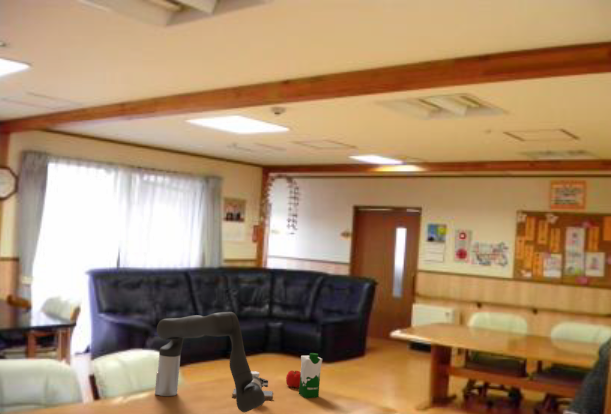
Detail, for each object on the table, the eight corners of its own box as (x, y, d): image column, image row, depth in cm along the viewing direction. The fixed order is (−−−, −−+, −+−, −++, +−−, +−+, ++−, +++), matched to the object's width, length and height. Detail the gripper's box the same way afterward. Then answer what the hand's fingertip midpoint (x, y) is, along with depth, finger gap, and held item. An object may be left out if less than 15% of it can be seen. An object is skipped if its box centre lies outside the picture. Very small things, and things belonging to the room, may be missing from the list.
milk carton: (304, 398, 277) (307, 355, 278) (296, 393, 285) (299, 350, 286) (321, 397, 281) (324, 354, 281) (312, 392, 289) (315, 350, 289)
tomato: (284, 384, 300) (285, 369, 300) (301, 384, 302) (302, 369, 302) (287, 389, 291) (289, 373, 291) (305, 389, 293) (307, 374, 293)
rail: (232, 397, 270) (232, 393, 270) (232, 396, 271) (232, 392, 271) (272, 400, 271) (272, 396, 271) (272, 399, 272) (272, 395, 272)
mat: (232, 395, 273) (232, 394, 273) (234, 389, 283) (234, 388, 283) (272, 398, 273) (272, 397, 274) (272, 392, 283) (272, 391, 283)
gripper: (269, 379, 240) (269, 369, 257) (236, 377, 239) (238, 368, 256) (268, 398, 239) (268, 387, 257) (234, 396, 239) (237, 385, 256)
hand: (253, 377), depth 256 cm, fingers closed
